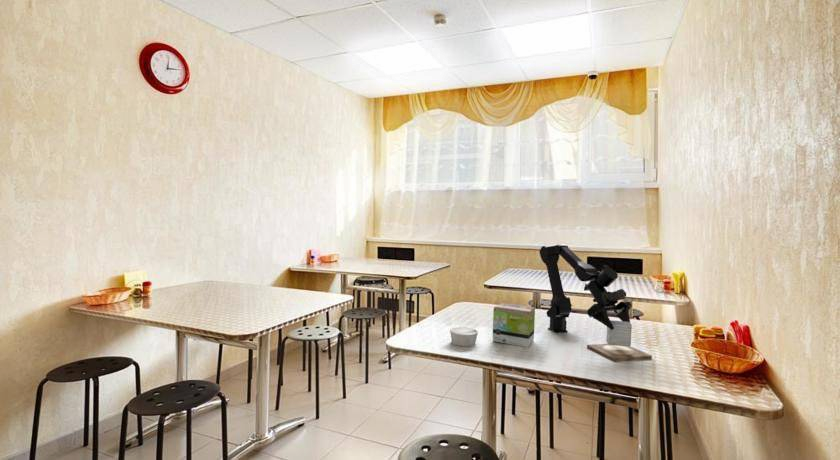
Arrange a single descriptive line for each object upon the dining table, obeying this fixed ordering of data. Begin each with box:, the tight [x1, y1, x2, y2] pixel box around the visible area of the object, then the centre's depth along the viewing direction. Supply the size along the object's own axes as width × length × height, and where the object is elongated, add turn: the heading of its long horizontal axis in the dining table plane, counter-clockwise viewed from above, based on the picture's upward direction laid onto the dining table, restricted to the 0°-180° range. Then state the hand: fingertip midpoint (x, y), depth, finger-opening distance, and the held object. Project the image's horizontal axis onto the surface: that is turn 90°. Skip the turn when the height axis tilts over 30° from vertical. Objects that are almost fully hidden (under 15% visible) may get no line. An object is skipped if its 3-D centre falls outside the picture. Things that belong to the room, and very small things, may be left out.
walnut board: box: [586, 343, 653, 362], centre depth 163 cm, size 16×16×1 cm
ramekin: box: [449, 326, 479, 348], centre depth 172 cm, size 11×11×5 cm
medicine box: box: [605, 319, 633, 347], centre depth 162 cm, size 8×4×9 cm, turn 78°
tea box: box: [492, 302, 536, 349], centre depth 175 cm, size 15×10×15 cm, turn 62°
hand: (621, 328), depth 161 cm, fingers closed on medicine box, 9 cm apart
